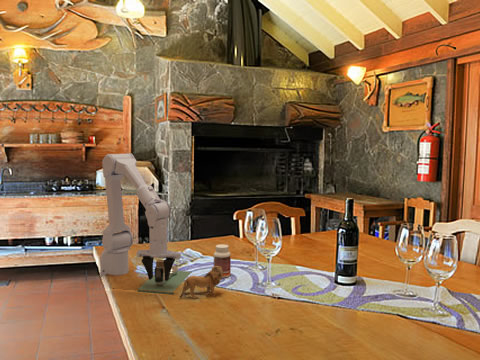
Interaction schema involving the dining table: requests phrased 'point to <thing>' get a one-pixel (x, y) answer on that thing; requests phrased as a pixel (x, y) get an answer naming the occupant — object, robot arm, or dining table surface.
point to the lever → (160, 276)
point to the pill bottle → (223, 259)
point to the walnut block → (160, 264)
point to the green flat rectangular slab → (168, 286)
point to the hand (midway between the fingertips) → (158, 279)
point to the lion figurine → (203, 282)
